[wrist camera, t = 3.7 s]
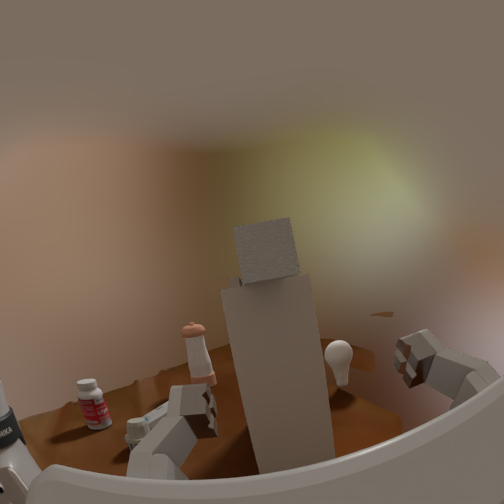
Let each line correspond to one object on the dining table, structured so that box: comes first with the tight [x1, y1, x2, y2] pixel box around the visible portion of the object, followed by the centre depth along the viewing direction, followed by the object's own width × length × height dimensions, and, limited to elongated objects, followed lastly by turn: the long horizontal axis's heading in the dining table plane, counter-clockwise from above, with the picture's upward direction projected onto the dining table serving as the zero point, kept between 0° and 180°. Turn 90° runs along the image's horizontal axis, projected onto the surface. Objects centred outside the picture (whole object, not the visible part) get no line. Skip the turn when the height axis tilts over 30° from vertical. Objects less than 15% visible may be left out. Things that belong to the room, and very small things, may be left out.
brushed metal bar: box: [233, 218, 300, 286], centre depth 34 cm, size 28×4×4 cm, turn 1°
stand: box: [220, 274, 335, 475], centre depth 40 cm, size 27×9×29 cm, turn 1°
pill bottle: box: [77, 379, 112, 430], centre depth 48 cm, size 6×6×11 cm
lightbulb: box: [325, 340, 353, 387], centre depth 56 cm, size 6×6×11 cm
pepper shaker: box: [181, 322, 217, 387], centre depth 77 cm, size 7×7×19 cm
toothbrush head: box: [124, 401, 169, 451], centre depth 48 cm, size 5×7×25 cm
